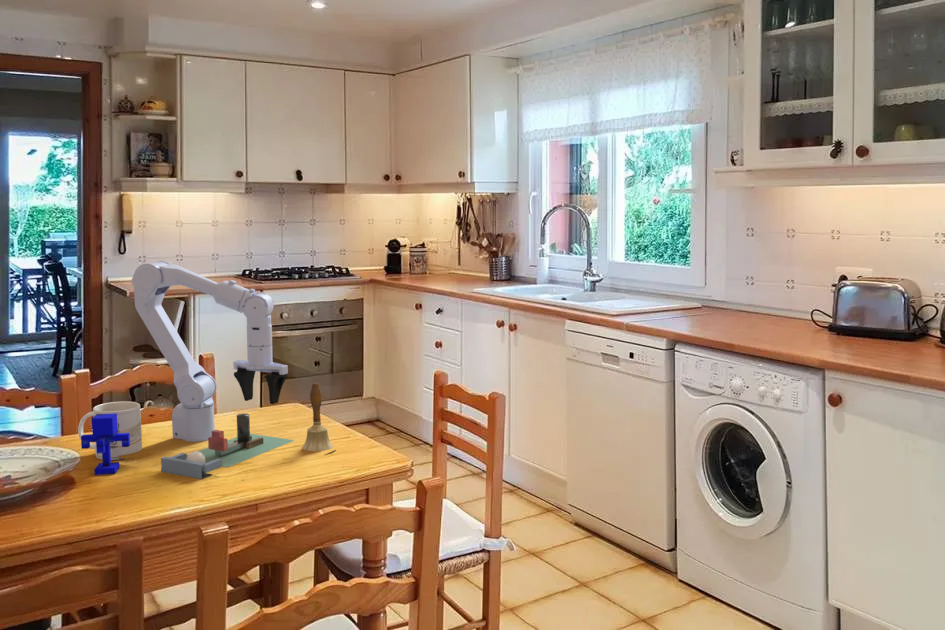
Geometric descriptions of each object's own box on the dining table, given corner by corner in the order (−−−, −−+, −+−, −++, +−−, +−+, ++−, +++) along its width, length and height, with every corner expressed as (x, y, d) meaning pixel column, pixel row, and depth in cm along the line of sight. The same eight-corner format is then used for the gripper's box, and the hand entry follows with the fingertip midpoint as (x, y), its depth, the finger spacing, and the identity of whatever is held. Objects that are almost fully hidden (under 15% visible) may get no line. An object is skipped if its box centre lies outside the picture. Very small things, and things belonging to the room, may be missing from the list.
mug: (110, 463, 183) (108, 414, 181) (77, 455, 189) (74, 407, 188) (151, 452, 192) (149, 404, 190) (118, 444, 198) (116, 398, 196)
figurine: (133, 470, 178) (131, 415, 177) (100, 479, 172) (97, 422, 171) (113, 463, 183) (110, 409, 181) (80, 472, 177) (77, 416, 175)
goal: (161, 471, 177) (161, 458, 177) (182, 463, 183) (182, 450, 182) (201, 479, 173) (201, 465, 172) (222, 470, 178) (221, 457, 178)
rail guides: (234, 446, 193) (233, 440, 192) (248, 441, 197) (248, 435, 197) (249, 449, 191) (248, 443, 191) (263, 443, 195) (263, 437, 195)
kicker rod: (208, 454, 185) (207, 423, 184) (240, 442, 195) (239, 412, 194) (223, 457, 183) (222, 425, 182) (255, 445, 193) (255, 414, 192)
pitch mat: (177, 462, 184) (177, 458, 183) (248, 437, 204) (247, 433, 204) (227, 471, 178) (227, 467, 178) (294, 444, 198) (294, 440, 198)
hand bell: (329, 457, 188) (327, 387, 186) (293, 455, 190) (292, 385, 188) (340, 446, 197) (339, 379, 195) (306, 445, 198) (305, 378, 196)
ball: (187, 446, 179) (198, 455, 182) (178, 463, 177) (189, 472, 180) (201, 449, 177) (212, 457, 180) (193, 466, 175) (203, 474, 178)
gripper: (223, 345, 196) (225, 401, 198) (273, 349, 190) (275, 408, 192) (244, 340, 203) (245, 395, 204) (292, 345, 197) (294, 402, 198)
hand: (261, 401), depth 199 cm, fingers open, 7 cm apart
